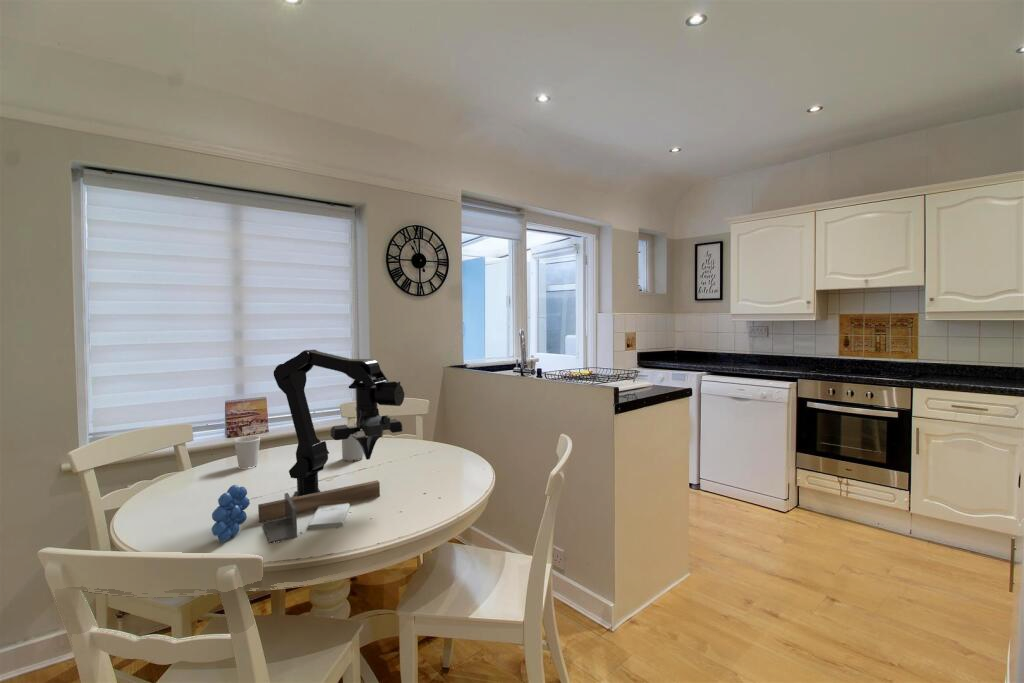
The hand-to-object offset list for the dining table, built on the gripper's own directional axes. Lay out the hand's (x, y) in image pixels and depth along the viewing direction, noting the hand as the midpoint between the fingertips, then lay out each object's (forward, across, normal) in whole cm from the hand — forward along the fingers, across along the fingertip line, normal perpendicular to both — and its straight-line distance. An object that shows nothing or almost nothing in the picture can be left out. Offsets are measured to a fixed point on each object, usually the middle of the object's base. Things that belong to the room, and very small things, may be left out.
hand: (367, 459), depth 133 cm
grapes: (+12, -34, -4) cm, 37 cm away
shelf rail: (+12, -12, +2) cm, 17 cm away
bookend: (+12, -24, -8) cm, 28 cm away
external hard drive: (+13, -12, -6) cm, 18 cm away
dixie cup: (+13, -27, +56) cm, 64 cm away
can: (+12, +6, +44) cm, 46 cm away
